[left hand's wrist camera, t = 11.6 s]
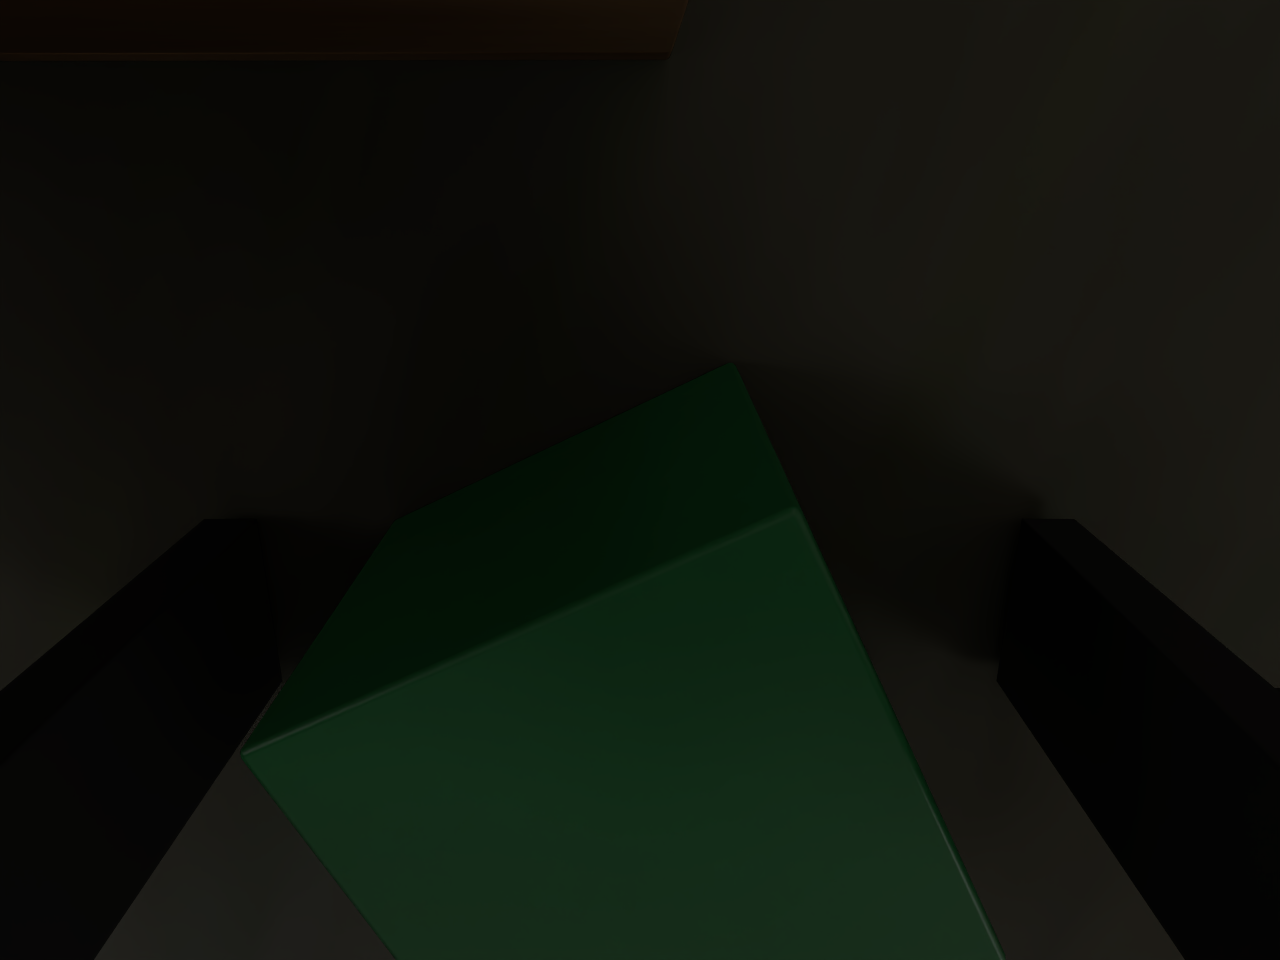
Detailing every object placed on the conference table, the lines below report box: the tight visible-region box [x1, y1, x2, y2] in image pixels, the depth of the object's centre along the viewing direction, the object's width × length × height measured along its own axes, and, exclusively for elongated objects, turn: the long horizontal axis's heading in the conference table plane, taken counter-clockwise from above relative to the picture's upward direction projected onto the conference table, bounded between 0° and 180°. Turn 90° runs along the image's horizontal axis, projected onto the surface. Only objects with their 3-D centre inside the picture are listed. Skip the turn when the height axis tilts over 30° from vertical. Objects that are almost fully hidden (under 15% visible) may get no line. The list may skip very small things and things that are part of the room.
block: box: [240, 363, 1005, 960], centre depth 11 cm, size 6×6×6 cm
